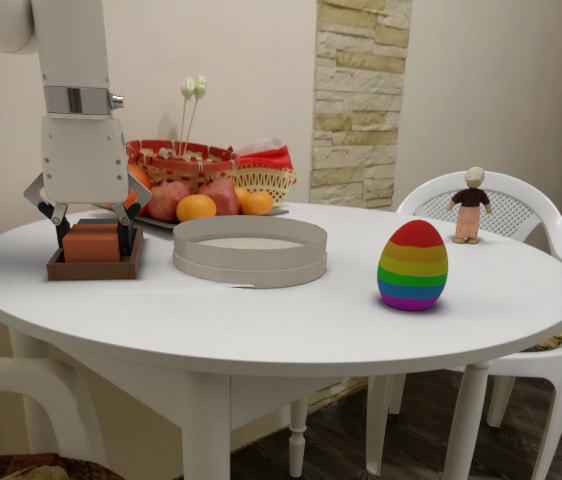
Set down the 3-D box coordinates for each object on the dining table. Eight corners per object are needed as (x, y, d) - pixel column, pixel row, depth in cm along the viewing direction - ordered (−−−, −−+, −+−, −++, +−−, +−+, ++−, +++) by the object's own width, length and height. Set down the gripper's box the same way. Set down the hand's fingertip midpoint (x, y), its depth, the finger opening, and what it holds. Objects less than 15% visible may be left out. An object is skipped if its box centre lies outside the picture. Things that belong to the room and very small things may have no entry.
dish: (212, 240, 91) (211, 210, 89) (340, 255, 86) (343, 223, 84) (143, 275, 73) (140, 238, 70) (302, 297, 67) (305, 257, 65)
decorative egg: (399, 288, 72) (410, 210, 67) (454, 305, 66) (470, 222, 62) (360, 301, 66) (369, 217, 62) (416, 320, 61) (430, 230, 57)
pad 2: (73, 256, 78) (70, 231, 76) (82, 241, 86) (79, 218, 84) (131, 255, 79) (129, 231, 77) (135, 240, 87) (133, 218, 86)
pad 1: (66, 267, 69) (62, 239, 67) (76, 248, 77) (73, 223, 75) (118, 266, 70) (115, 239, 68) (123, 248, 78) (121, 223, 76)
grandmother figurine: (478, 239, 100) (492, 165, 94) (487, 244, 96) (503, 168, 90) (437, 239, 99) (450, 164, 93) (446, 244, 95) (459, 167, 90)
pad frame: (49, 285, 68) (45, 264, 67) (75, 243, 87) (73, 226, 85) (136, 283, 70) (134, 263, 68) (143, 243, 88) (142, 226, 87)
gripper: (154, 107, 70) (162, 246, 78) (9, 101, 67) (33, 246, 75) (152, 108, 63) (161, 260, 71) (-8, 102, 60) (20, 261, 68)
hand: (96, 252), depth 73 cm, fingers closed on pad 1, 6 cm apart
